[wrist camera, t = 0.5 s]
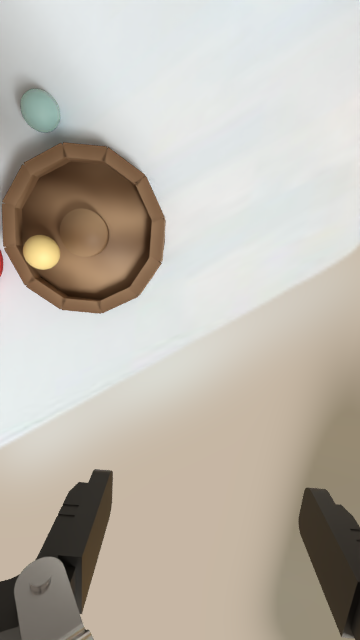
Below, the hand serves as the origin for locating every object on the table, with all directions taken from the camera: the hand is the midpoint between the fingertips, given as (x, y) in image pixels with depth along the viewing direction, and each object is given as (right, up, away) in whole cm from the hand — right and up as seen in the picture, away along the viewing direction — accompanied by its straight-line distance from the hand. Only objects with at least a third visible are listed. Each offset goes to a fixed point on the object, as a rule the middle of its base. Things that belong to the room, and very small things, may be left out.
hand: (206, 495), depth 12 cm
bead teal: (-16, +29, +19) cm, 38 cm away
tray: (-12, +18, +24) cm, 32 cm away
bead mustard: (-17, +15, +21) cm, 31 cm away
